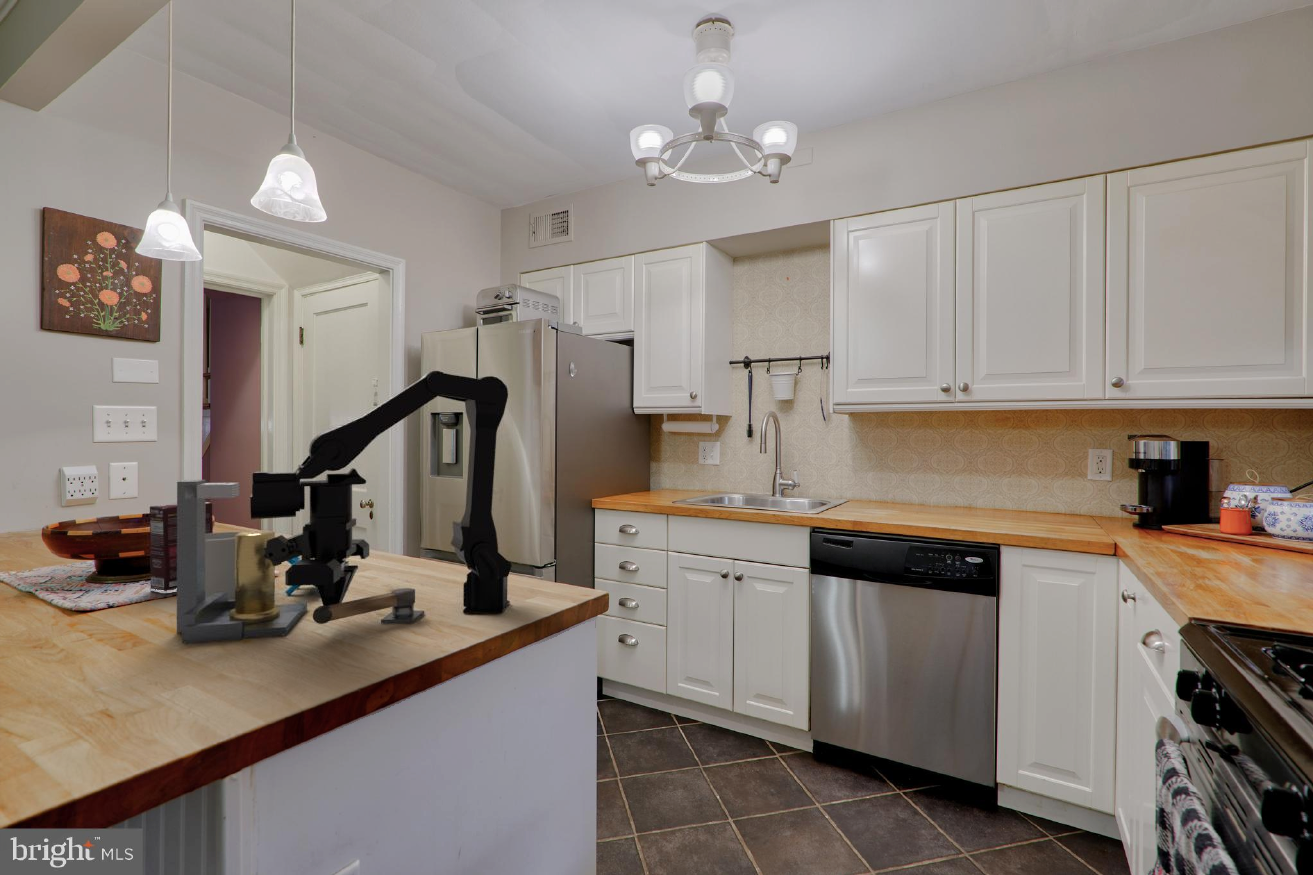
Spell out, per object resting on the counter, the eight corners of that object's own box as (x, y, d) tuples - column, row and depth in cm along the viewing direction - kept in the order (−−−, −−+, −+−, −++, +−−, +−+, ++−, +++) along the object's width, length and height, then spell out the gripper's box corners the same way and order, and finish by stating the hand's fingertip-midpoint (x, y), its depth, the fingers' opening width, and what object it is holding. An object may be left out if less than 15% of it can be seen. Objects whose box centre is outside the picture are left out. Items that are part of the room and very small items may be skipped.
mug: (191, 606, 106) (191, 541, 105) (188, 595, 112) (189, 534, 112) (273, 595, 113) (273, 534, 113) (266, 585, 120) (267, 528, 120)
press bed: (307, 609, 105) (308, 476, 105) (284, 636, 92) (285, 484, 91) (200, 615, 100) (200, 476, 100) (159, 645, 87) (160, 485, 87)
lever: (407, 600, 103) (407, 585, 103) (419, 604, 101) (419, 588, 101) (308, 622, 91) (308, 605, 91) (318, 628, 89) (319, 610, 89)
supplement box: (198, 581, 122) (198, 500, 121) (214, 584, 120) (214, 502, 119) (147, 592, 114) (148, 505, 113) (163, 595, 112) (164, 507, 111)
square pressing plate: (424, 614, 103) (424, 601, 103) (412, 623, 98) (412, 609, 98) (394, 613, 103) (394, 600, 103) (380, 623, 98) (380, 609, 98)
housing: (289, 613, 99) (290, 531, 98) (251, 625, 92) (251, 538, 92) (258, 608, 101) (258, 529, 100) (218, 620, 94) (218, 535, 94)
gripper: (297, 506, 102) (298, 600, 102) (243, 526, 83) (243, 641, 84) (370, 505, 104) (370, 598, 104) (332, 525, 85) (332, 637, 86)
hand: (331, 616), depth 95 cm, fingers closed
